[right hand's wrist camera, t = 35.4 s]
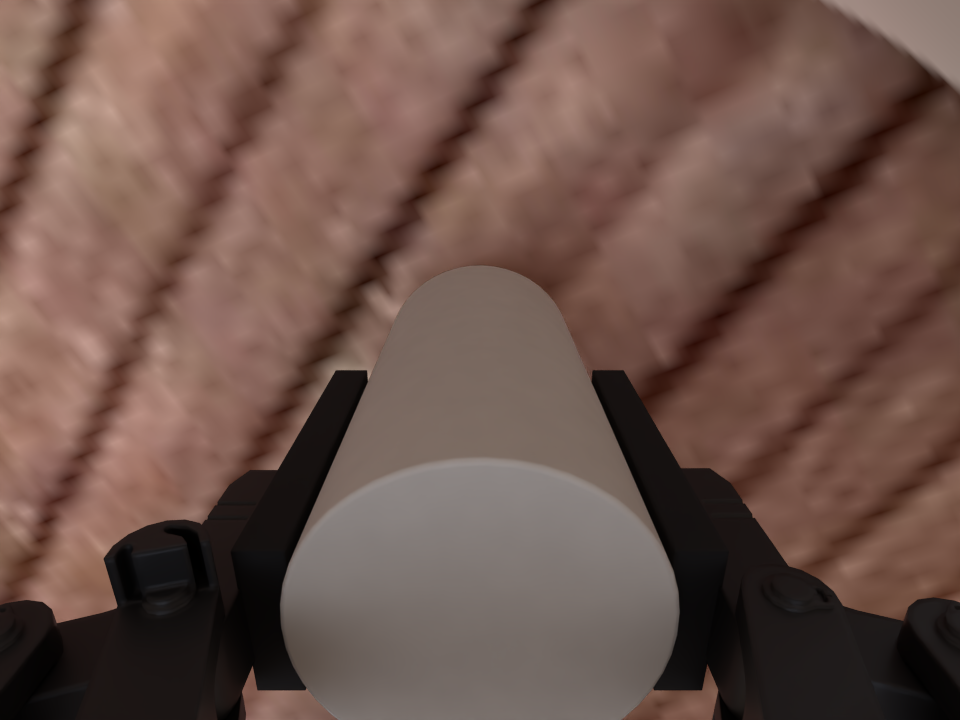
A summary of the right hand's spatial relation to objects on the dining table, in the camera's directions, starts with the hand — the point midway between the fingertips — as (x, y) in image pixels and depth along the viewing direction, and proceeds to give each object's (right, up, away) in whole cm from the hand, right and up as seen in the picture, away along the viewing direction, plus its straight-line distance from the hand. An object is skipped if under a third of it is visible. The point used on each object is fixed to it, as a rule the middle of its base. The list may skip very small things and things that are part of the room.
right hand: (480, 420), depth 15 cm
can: (0, +2, +3) cm, 4 cm away
